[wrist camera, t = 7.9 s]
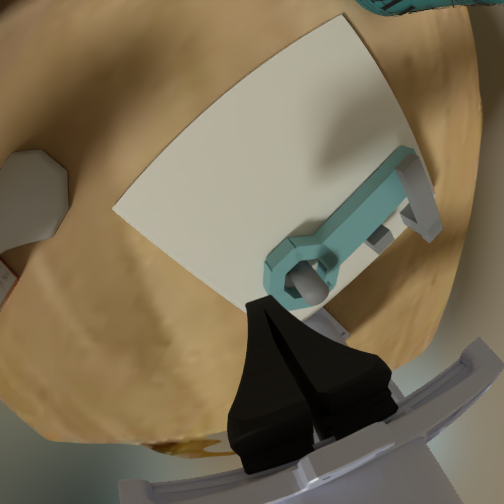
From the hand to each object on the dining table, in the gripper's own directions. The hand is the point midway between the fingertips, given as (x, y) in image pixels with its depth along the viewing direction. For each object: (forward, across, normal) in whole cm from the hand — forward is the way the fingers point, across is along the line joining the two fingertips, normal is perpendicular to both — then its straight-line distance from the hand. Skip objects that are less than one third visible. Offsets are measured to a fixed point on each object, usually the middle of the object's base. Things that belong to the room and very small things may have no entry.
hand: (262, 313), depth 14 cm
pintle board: (+9, -7, -2) cm, 12 cm away
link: (+8, -9, +2) cm, 12 cm away
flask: (+10, +14, -9) cm, 19 cm away
